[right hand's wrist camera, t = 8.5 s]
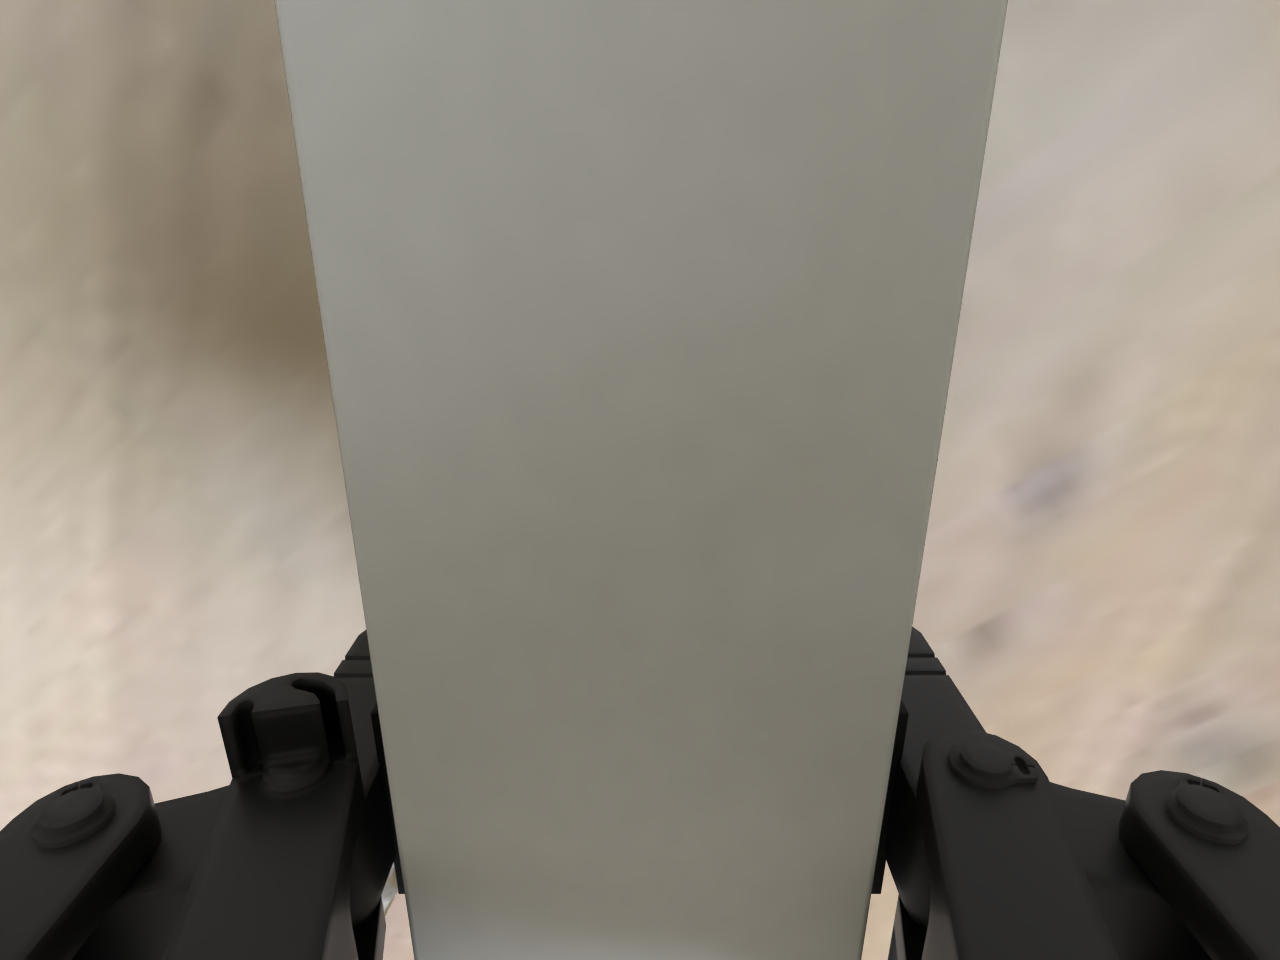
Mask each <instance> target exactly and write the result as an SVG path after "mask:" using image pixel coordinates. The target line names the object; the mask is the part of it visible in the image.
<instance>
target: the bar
mask: <svg viewBox="0 0 1280 960" xmlns="http://www.w3.org/2000/svg"><path fill="white" fill-rule="evenodd" d="M1007 3H1008V0H275V6H276V13H277V20H278V26H279V33H280V40H281V47H282V54H283V61H284V68H285V74H286V81H287V88H288V95H289V102H290V109H291V116H292V122H293V129H294V136H295V143H296V150H297V157H298V164H299V170H300V177H301V184H302V191H303V198H304V205H305V212H306V218H307V225H308V232H309V239H310V246H311V253H312V260H313V266H314V273H315V280H316V287H317V294H318V301H319V308H320V314H321V321H322V328H323V335H324V342H325V349H326V356H327V362H328V369H329V376H330V383H331V390H332V397H333V403H334V410H335V417H336V424H337V431H338V438H339V445H340V451H341V458H342V465H343V472H344V479H345V486H346V493H347V499H348V506H349V513H350V520H351V527H352V534H353V541H354V547H355V554H356V561H357V568H358V575H359V582H360V589H361V595H362V602H363V609H364V616H365V623H366V630H367V637H368V643H369V650H370V657H371V664H372V671H373V678H374V685H375V691H376V698H377V705H378V712H379V719H380V726H381V733H382V739H383V746H384V753H385V760H386V767H387V774H388V781H389V787H390V794H391V801H392V808H393V815H394V822H395V829H396V835H397V842H398V849H399V856H400V863H401V870H402V877H403V883H404V890H405V897H406V904H407V911H408V918H409V925H410V931H411V938H412V945H413V952H414V959H415V960H861V957H862V950H863V944H864V937H865V930H866V924H867V917H868V911H869V904H870V898H871V891H872V885H873V878H874V872H875V865H876V859H877V852H878V846H879V839H880V832H881V826H882V819H883V813H884V806H885V800H886V793H887V787H888V780H889V774H890V767H891V761H892V754H893V747H894V741H895V734H896V728H897V721H898V715H899V708H900V702H901V695H902V689H903V682H904V676H905V669H906V663H907V656H908V649H909V643H910V636H911V630H912V623H913V617H914V610H915V604H916V597H917V591H918V584H919V578H920V571H921V565H922V558H923V551H924V545H925V538H926V532H927V525H928V519H929V512H930V506H931V499H932V493H933V486H934V480H935V473H936V467H937V460H938V453H939V447H940V440H941V434H942V427H943V421H944V414H945V408H946V401H947V395H948V388H949V382H950V375H951V368H952V362H953V355H954V349H955V342H956V336H957V329H958V323H959V316H960V310H961V303H962V297H963V290H964V284H965V277H966V270H967V264H968V257H969V251H970V244H971V238H972V231H973V225H974V218H975V212H976V205H977V199H978V192H979V186H980V179H981V172H982V166H983V159H984V153H985V146H986V140H987V133H988V127H989V120H990V114H991V107H992V101H993V94H994V88H995V81H996V74H997V68H998V61H999V55H1000V48H1001V42H1002V35H1003V29H1004V22H1005V16H1006V9H1007Z"/></svg>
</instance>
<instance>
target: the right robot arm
mask: <svg viewBox="0 0 1280 960" xmlns="http://www.w3.org/2000/svg"><path fill="white" fill-rule="evenodd" d="M218 721H219V725H220V729H221V734H222V738H223V742H224V746H225V750H226V754H227V758H228V762H229V766H230V770H231V774H232V781H231V783H230V785H229V786H225V787H222V788H219V789H215V790H212V791H208V792H204V793H200V794H195V795H191V796H186V797H182V798H178V799H173V800H169V801H165V802H160V803H156V804H154V801H153V798H152V794H151V791H150V788H149V786H148V785H147V784H146V783H145V782H143V781H142V780H141V779H140V778H139V777H135V776H130V775H124V774H111V775H103V776H95V777H91V778H88V779H85V780H81V781H79V782H75V783H72V784H69V785H66V786H64V787H62V788H60V789H58V790H56V791H54V792H52V793H51V794H49V795H47V796H45V797H43V798H41V799H39V800H37V801H36V802H34V803H33V804H32V805H31V806H29V807H28V808H27V809H25V810H24V811H23V812H22V813H20V814H19V815H18V816H16V817H15V818H14V819H13V820H12V821H11V822H10V823H8V824H7V825H6V826H5V827H4V828H3V829H2V830H1V831H0V960H383V950H384V940H385V930H386V922H385V915H384V908H383V902H382V896H381V895H382V892H383V889H384V887H385V884H386V881H387V879H388V876H389V873H390V870H391V868H392V865H393V862H394V867H395V873H396V880H397V886H398V893H399V894H405V890H404V883H403V877H402V870H401V863H400V856H399V849H398V842H397V835H396V829H395V822H394V815H393V808H392V801H391V794H390V787H389V781H388V774H387V767H386V760H385V753H384V746H383V739H382V733H381V726H380V719H379V712H378V705H377V698H376V691H375V685H374V678H373V671H372V664H371V657H370V650H369V643H368V637H367V630H365V631H364V632H363V633H361V634H360V635H359V636H358V637H357V639H356V640H355V642H354V643H353V645H352V646H351V648H350V650H349V651H348V653H347V654H346V656H345V660H342V662H341V663H340V665H339V666H338V668H337V670H336V671H335V673H334V677H333V676H329V675H326V674H322V673H294V674H289V675H285V676H280V677H276V678H272V679H269V680H267V681H265V682H262V683H260V684H258V685H255V686H253V687H251V688H248V689H247V690H246V691H244V692H243V693H241V694H240V695H238V696H237V697H236V698H234V699H233V700H231V701H230V702H229V703H228V704H227V706H226V707H225V708H224V709H223V711H222V712H221V713H220V715H219V716H218ZM886 860H887V863H888V866H889V868H890V871H891V874H892V876H893V879H894V882H895V884H896V887H897V890H898V892H899V896H898V902H897V908H896V914H895V920H894V926H893V932H892V938H891V944H890V950H889V956H888V960H1280V827H1279V826H1278V825H1277V824H1276V823H1275V822H1273V821H1272V820H1271V819H1270V818H1269V817H1268V816H1267V815H1266V814H1265V813H1263V812H1262V811H1261V810H1259V809H1258V808H1257V807H1256V806H1254V805H1253V804H1252V803H1250V802H1249V801H1248V800H1246V799H1245V798H1244V797H1242V796H1240V795H1238V794H1236V793H1234V792H1232V791H1230V790H1229V789H1227V788H1225V787H1223V786H1221V785H1219V784H1217V783H1215V782H1212V781H1209V780H1206V779H1203V778H1200V777H1196V776H1193V775H1190V774H1187V773H1179V772H1171V771H1163V770H1160V771H1155V772H1149V773H1143V774H1141V775H1140V776H1139V777H1138V778H1137V779H1135V780H1134V781H1133V782H1132V783H1131V785H1130V788H1129V792H1128V795H1127V798H1126V801H1125V800H1120V799H1116V798H1111V797H1107V796H1103V795H1098V794H1094V793H1089V792H1085V791H1080V790H1076V789H1072V788H1068V787H1065V786H1061V785H1058V784H1055V783H1051V782H1049V780H1048V777H1047V776H1046V774H1045V773H1044V771H1043V770H1042V768H1041V767H1040V765H1039V764H1038V762H1037V761H1036V760H1035V759H1034V758H1032V757H1031V756H1030V755H1029V754H1027V753H1026V752H1025V751H1024V750H1022V749H1021V748H1020V747H1019V746H1017V745H1014V744H1012V743H1010V742H1008V741H1006V740H1004V739H1002V738H1000V737H998V736H996V735H992V734H988V733H986V732H985V730H984V728H983V727H982V725H981V724H980V722H979V721H978V719H977V718H976V716H975V715H974V713H973V712H972V710H971V709H970V707H969V706H968V704H967V703H966V701H965V699H964V698H963V696H962V695H961V693H960V692H959V690H958V689H957V687H956V686H955V684H954V683H953V681H952V680H951V678H950V677H949V675H946V670H945V669H944V667H943V666H942V664H941V663H940V661H939V660H938V658H935V656H934V652H933V651H932V649H931V648H930V646H929V645H928V643H927V641H926V640H925V638H924V637H923V635H922V634H921V633H920V632H919V631H918V630H916V629H915V628H913V627H912V630H911V636H910V643H909V649H908V656H907V663H906V669H905V676H904V682H903V689H902V695H901V702H900V708H899V715H898V721H897V728H896V734H895V741H894V747H893V754H892V761H891V767H890V774H889V780H888V787H887V793H886V800H885V806H884V813H883V819H882V826H881V832H880V839H879V846H878V852H877V859H876V865H875V872H874V878H873V885H872V891H871V894H881V889H882V882H883V876H884V870H885V863H886Z"/></svg>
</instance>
